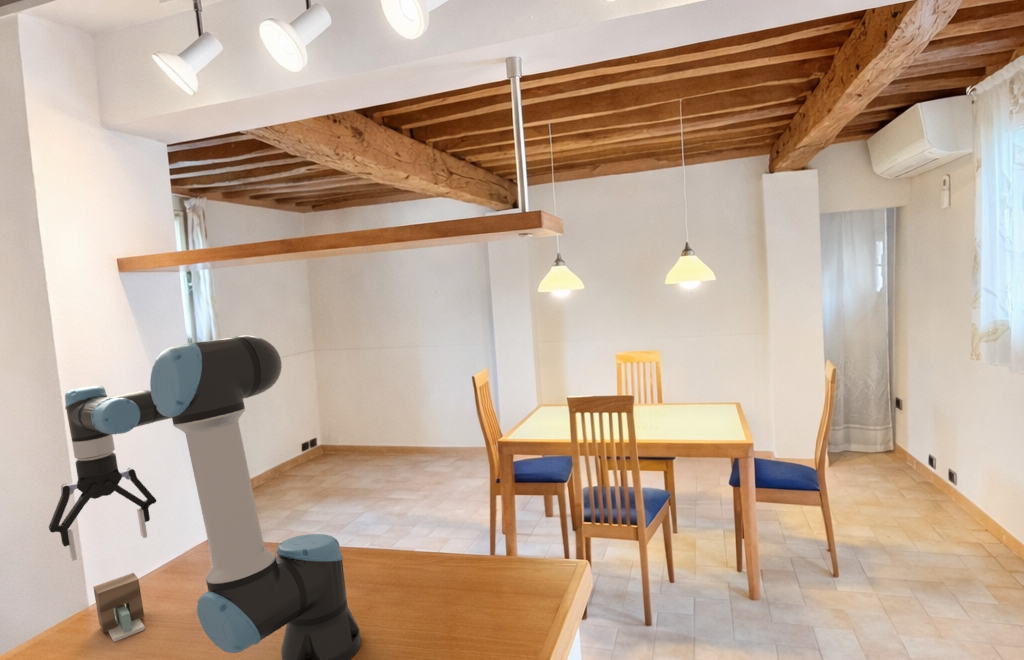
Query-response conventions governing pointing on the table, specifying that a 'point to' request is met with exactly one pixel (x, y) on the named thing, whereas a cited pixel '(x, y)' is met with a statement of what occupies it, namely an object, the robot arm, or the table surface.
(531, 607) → the table surface
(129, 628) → the inverted t-shaped bar
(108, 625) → the brown notched block
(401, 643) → the table surface
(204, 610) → the robot arm
